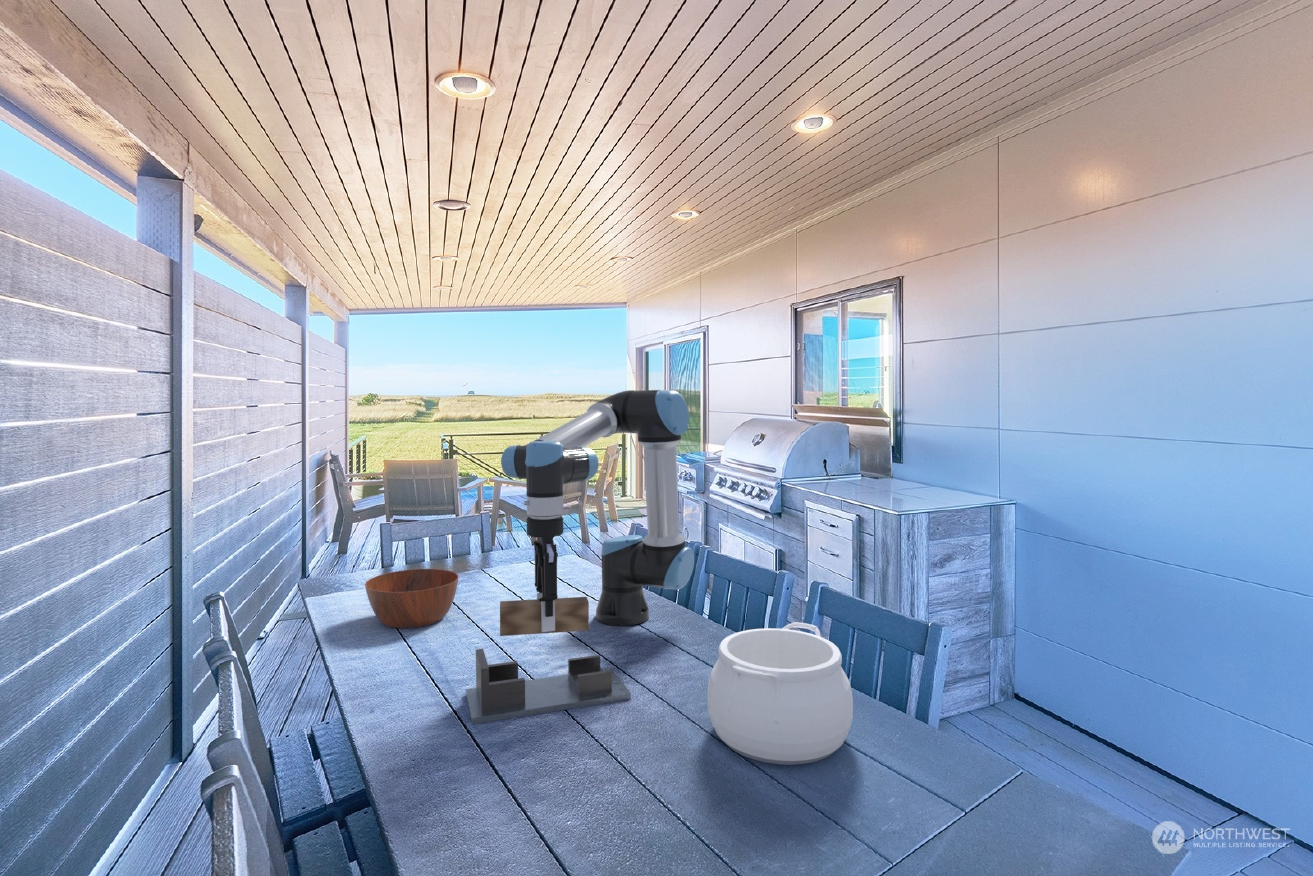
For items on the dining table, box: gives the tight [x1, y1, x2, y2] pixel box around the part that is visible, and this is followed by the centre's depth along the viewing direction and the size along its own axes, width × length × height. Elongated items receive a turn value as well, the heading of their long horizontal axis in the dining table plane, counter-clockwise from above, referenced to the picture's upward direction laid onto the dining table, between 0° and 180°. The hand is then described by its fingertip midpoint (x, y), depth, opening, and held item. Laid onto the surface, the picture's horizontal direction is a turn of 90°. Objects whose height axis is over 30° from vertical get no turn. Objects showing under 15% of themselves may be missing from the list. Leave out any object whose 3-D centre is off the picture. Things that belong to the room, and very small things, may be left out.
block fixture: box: [465, 648, 632, 725], centre depth 142 cm, size 32×14×10 cm, turn 110°
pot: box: [706, 621, 854, 766], centre depth 125 cm, size 29×26×17 cm
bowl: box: [364, 568, 460, 629], centre depth 192 cm, size 25×25×11 cm
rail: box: [499, 596, 590, 637], centre depth 141 cm, size 18×4×6 cm, turn 102°
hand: (546, 626), depth 142 cm, fingers closed on rail, 4 cm apart
